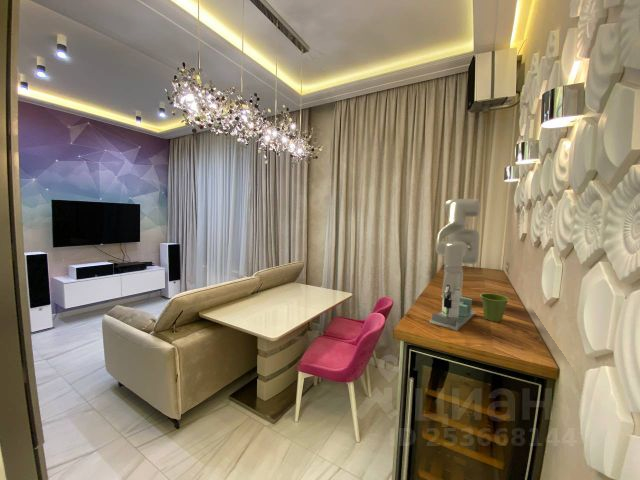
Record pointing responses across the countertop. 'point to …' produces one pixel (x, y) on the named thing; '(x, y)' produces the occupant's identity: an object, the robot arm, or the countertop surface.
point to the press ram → (464, 306)
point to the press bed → (459, 320)
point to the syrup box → (454, 306)
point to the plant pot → (493, 306)
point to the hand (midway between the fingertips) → (450, 305)
